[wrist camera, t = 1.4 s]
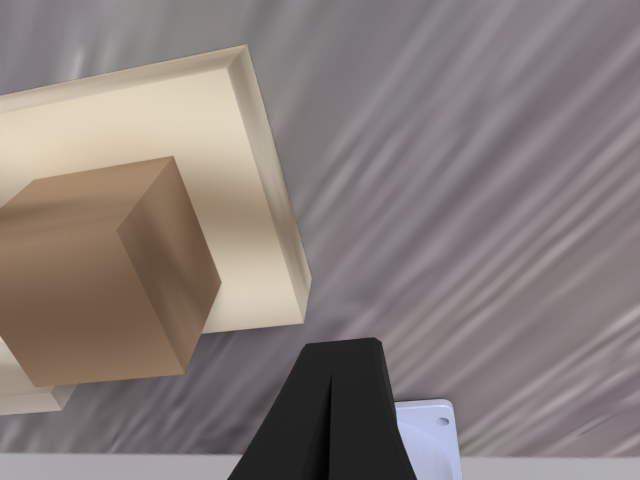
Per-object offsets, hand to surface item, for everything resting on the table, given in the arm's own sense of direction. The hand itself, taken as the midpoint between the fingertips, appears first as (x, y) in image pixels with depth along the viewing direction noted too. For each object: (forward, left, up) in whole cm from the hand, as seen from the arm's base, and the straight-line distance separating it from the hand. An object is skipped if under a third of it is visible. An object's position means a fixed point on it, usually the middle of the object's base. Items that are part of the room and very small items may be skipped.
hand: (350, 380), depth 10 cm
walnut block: (0, +7, -7) cm, 10 cm away
